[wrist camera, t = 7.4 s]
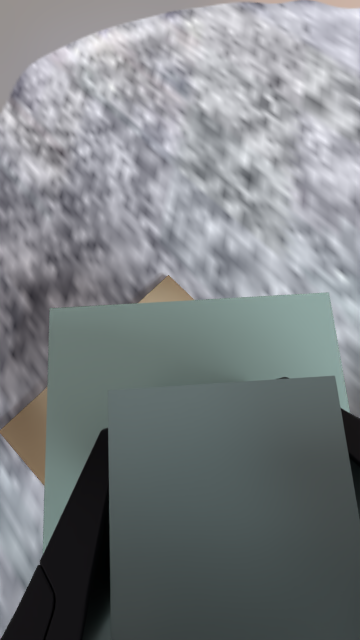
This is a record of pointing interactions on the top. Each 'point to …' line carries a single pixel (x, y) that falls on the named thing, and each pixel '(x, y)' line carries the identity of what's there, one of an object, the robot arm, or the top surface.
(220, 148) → the top surface
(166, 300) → the cork mat
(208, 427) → the lid
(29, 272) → the top surface
